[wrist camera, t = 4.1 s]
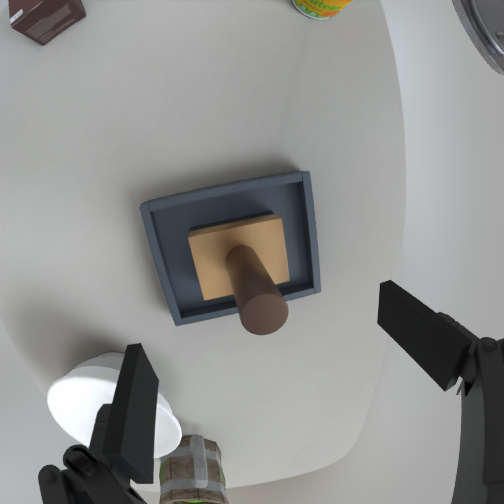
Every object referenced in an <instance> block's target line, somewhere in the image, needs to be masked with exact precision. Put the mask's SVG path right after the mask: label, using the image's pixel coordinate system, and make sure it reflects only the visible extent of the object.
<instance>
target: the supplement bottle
mask: <svg viewBox="0 0 504 504" xmlns="http://www.w3.org/2000/svg"><path fill="white" fill-rule="evenodd" d="M351 1H352V0H292V2H293V4H294V6H295V7H296V8H297V9H298V10H299V11H300V12H301V13H303V14H304V15H306V16H308V17H310V18H313V19H318V20H325V19H329V18H331V17H333V16H334V15H335V14H337V13H338V12H339V11H340V10H341V9H342V8H344V7H345V6H346V5H347V4H348V3H350V2H351Z"/></svg>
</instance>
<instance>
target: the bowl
mask: <svg viewBox="0 0 504 504" xmlns="http://www.w3.org/2000/svg"><path fill="white" fill-rule="evenodd" d="M124 355H125V354H123V353H117V352H108V353H103V354H101V355H99V356H98V357H96V358H91V359H89V360H87V361H85V362H82V363H80V364H78V365H77V366H76V367H74V368H73V369H72V370H71V371H70V372H69V373H68V374H67V375H66V376H64V377H62V378H60V379H57V380H56V381H54V382H53V383H52V384H51V385H50V387H49V389H48V391H47V403H48V407H49V410H50V412H51V414H52V416H53V417H54V419H55V420H56V421H57V423H58V424H59V425H60V426H61V427H62V428H63V429H64V430H65V431H66V432H67V433H68V434H70V435H71V436H72V437H73V438H75V439H76V440H78V441H79V442H81V443H83V444H84V445H86V446H88V447H89V445H90V440H91V436H92V431H93V430H94V428H93V427H94V423H95V419H96V415H97V412H98V410H99V409H100V408H101V406H102V405H103V404H109V403H112V401H113V397H114V393H115V389H116V385H117V381H118V377H119V373H120V369H121V366H122V362H123V359H124ZM181 437H182V432H181V427H180V425H179V422H178V421H177V419H176V418H175V417H174V415H173V414H172V411H171V409H170V405H169V402H168V399H167V397H166V395H165V393H164V392H163V390H162V388H161V387H160V385H159V386H158V397H157V409H156V423H155V441H154V458H158V457H162V456H164V455H167V454H169V453H170V452H172V451H173V450H175V449H176V447H177V446H178V445H179V443H180V440H181Z"/></svg>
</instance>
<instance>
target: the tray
mask: <svg viewBox="0 0 504 504" xmlns="http://www.w3.org/2000/svg"><path fill="white" fill-rule="evenodd" d="M140 210H141V214H142V218H143V222H144V226H145V229H146V233H147V237H148V241H149V244H150V248H151V251H152V255H153V258H154V262H155V265H156V268H157V271H158V275H159V278H160V281H161V284H162V287H163V290H164V293H165V297H166V299H167V302H168V305H169V308H170V311H171V314H172V317H173V320H174V323H175V325H176V326H179V325H183V324H189V323H194V322H199V321H204V320H208V319H213V318H218V317H222V316H227V315H231V314H236V313H239V312H238V308H237V305H236V301H235V297H234V294H232V295H227V296H223V297H218V298H214V299H209V300H204V298H203V294H202V291H201V287H200V283H199V280H198V276H197V272H196V268H195V264H194V260H193V256H192V252H191V248H190V244H189V240H188V235H189V228H191V227H195V226H200V225H204V224H209V223H213V222H218V221H223V220H227V219H232V218H237V217H242V216H247V215H252V214H257V213H262V212H267V211H273V212H274V213H275V214H277V215H278V216H279V217H281V218H282V224H283V231H284V239H285V246H286V254H287V262H288V270H289V278H290V281H287V282H283V283H279V284H275V285H276V287H277V288H278V290H279V292H280V293H281V295H282V297H283V298H284V300H285V301H289V300H293V299H297V298H300V297H304V296H308V295H312V294H316V293H319V292H321V283H320V268H319V255H318V243H317V232H316V222H315V212H314V203H313V195H312V187H311V179H310V172H308V171H295V172H289V173H282V174H276V175H270V176H264V177H258V178H253V179H247V180H242V181H236V182H231V183H226V184H221V185H216V186H211V187H207V188H202V189H197V190H193V191H188V192H184V193H180V194H175V195H171V196H167V197H163V198H159V199H155V200H151V201H147V202H144V203H143V204H141V205H140Z"/></svg>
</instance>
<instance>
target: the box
mask: <svg viewBox="0 0 504 504" xmlns="http://www.w3.org/2000/svg"><path fill="white" fill-rule="evenodd" d="M8 1H9V13H10V23H11V28H13V29H15V30H16V31H18V32H20V33H22V34H23V35H25V36H27V37H29V38H30V39H32V40H34V41H35V42H37V43H39V44H41V45H45V44H46V43H47V42H48V41H50V40H51V39H52V38H54V37H55V36H57V35H58V34H59V33H61V32H62V31H64V30H65V29H66V28H68V27H69V26H71V25H72V24H74V23H75V22H77V21H78V20H80V19H82V18H83V17H85V16H86V13H85V10H84V7H83V4H82V2H81V0H8Z"/></svg>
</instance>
